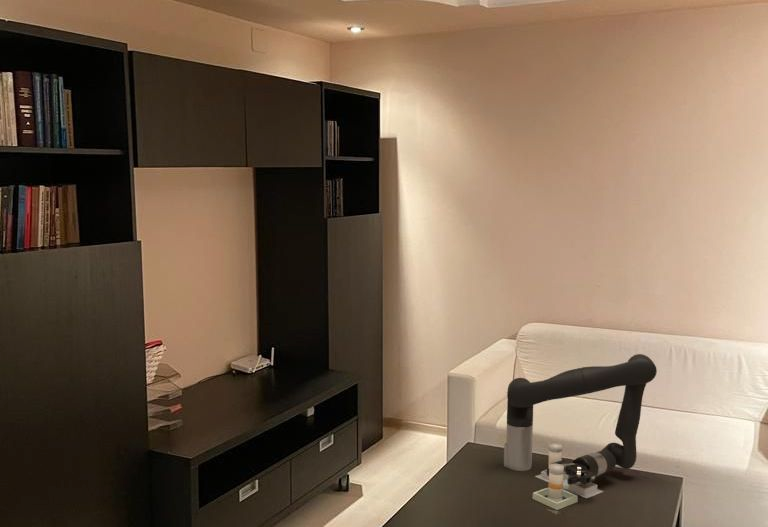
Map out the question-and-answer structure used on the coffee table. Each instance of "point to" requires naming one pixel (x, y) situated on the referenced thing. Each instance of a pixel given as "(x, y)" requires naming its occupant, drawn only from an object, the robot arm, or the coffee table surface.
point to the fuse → (555, 452)
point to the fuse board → (575, 486)
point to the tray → (555, 505)
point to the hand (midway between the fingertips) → (557, 477)
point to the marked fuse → (555, 482)
